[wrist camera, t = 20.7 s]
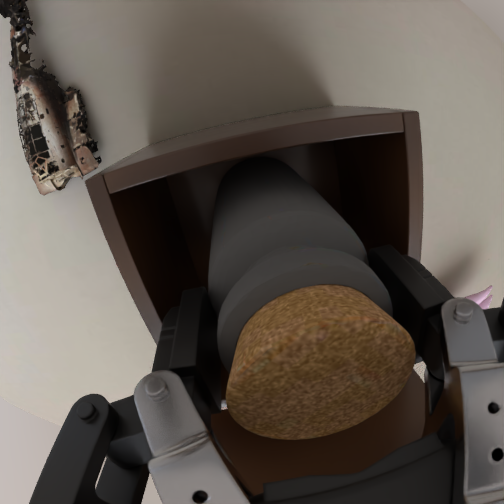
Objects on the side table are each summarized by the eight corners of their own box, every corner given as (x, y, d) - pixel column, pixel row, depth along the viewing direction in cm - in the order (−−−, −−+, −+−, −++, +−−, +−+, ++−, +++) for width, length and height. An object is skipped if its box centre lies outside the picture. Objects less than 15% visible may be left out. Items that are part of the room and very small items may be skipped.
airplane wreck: (53, -33, 10) (18, -53, 5) (109, 164, 18) (73, 185, 13) (-1, 9, 10) (-41, 0, 5) (50, 195, 19) (9, 223, 14)
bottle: (198, 186, 19) (143, 378, 6) (277, 138, 18) (416, 237, 5) (245, 254, 21) (275, 464, 8) (318, 213, 20) (442, 387, 7)
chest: (148, 145, 18) (83, 181, 9) (335, 105, 18) (419, 111, 9) (202, 310, 24) (196, 411, 16) (352, 277, 24) (405, 361, 15)
